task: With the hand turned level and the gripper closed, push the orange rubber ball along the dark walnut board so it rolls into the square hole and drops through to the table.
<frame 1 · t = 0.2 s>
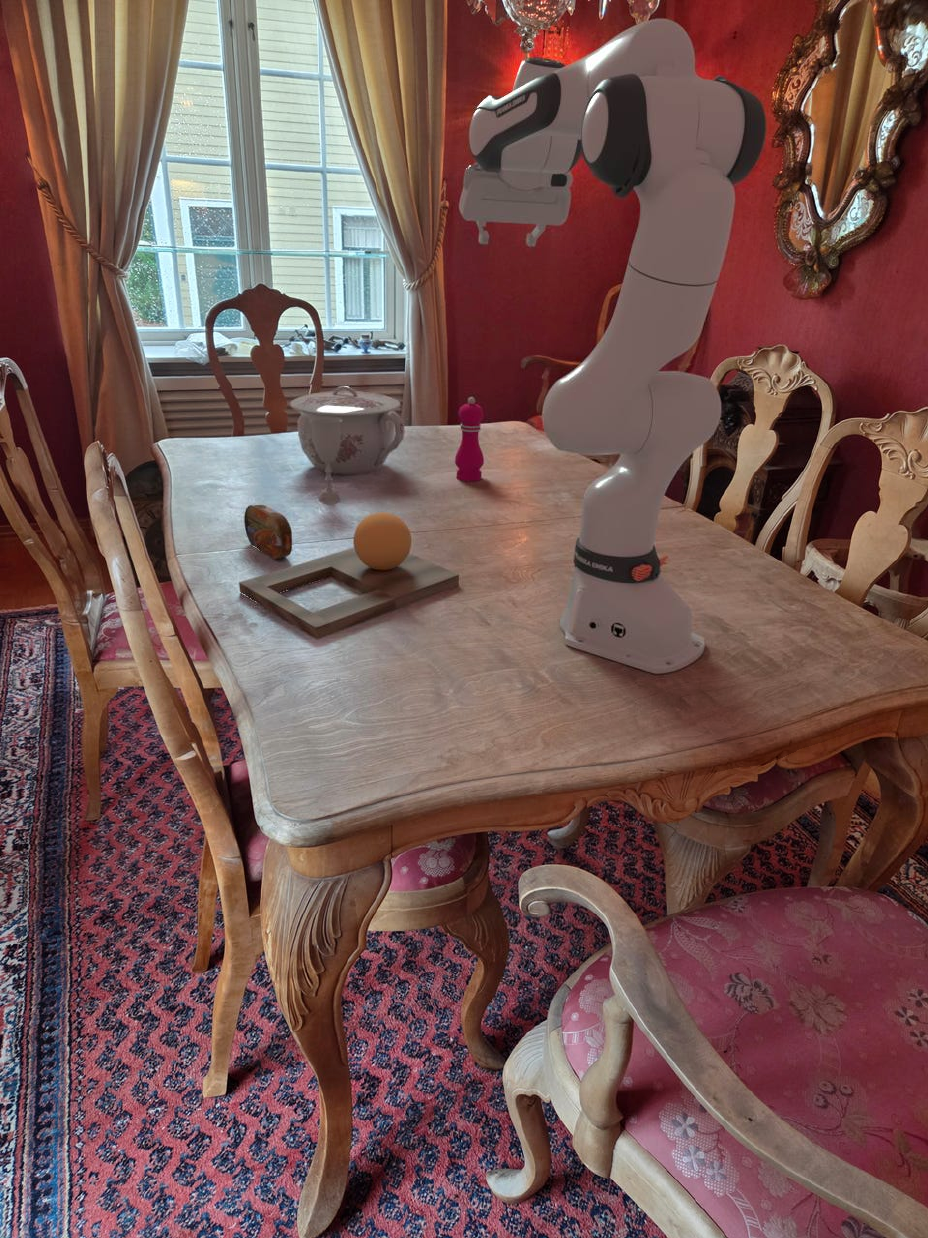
hand: (506, 243, 144), 54 cm above the table, tool tilted 30°, fingers open, 8 cm apart
chalice: (329, 500, 174), on the table
chamber pot: (348, 469, 197), on the table
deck: (356, 587, 132), on the table
ball: (382, 541, 133), point 7 cm above the table, touching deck
pepper mill: (468, 478, 193), on the table
tin: (270, 552, 146), on the table
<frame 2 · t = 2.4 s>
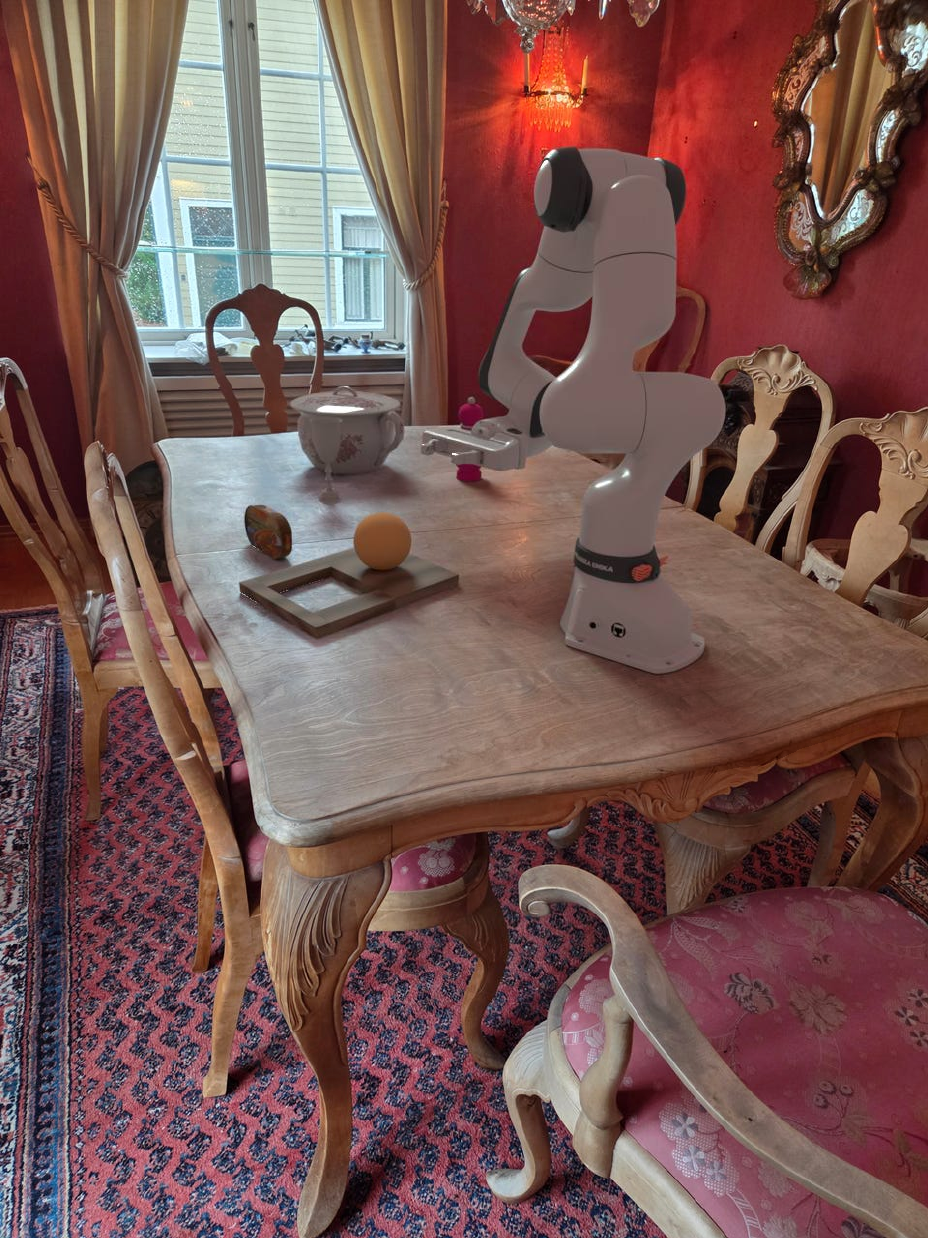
hand: (438, 454, 135), 20 cm above the table, tool horizontal, fingers open, 6 cm apart
nothing on the table moved.
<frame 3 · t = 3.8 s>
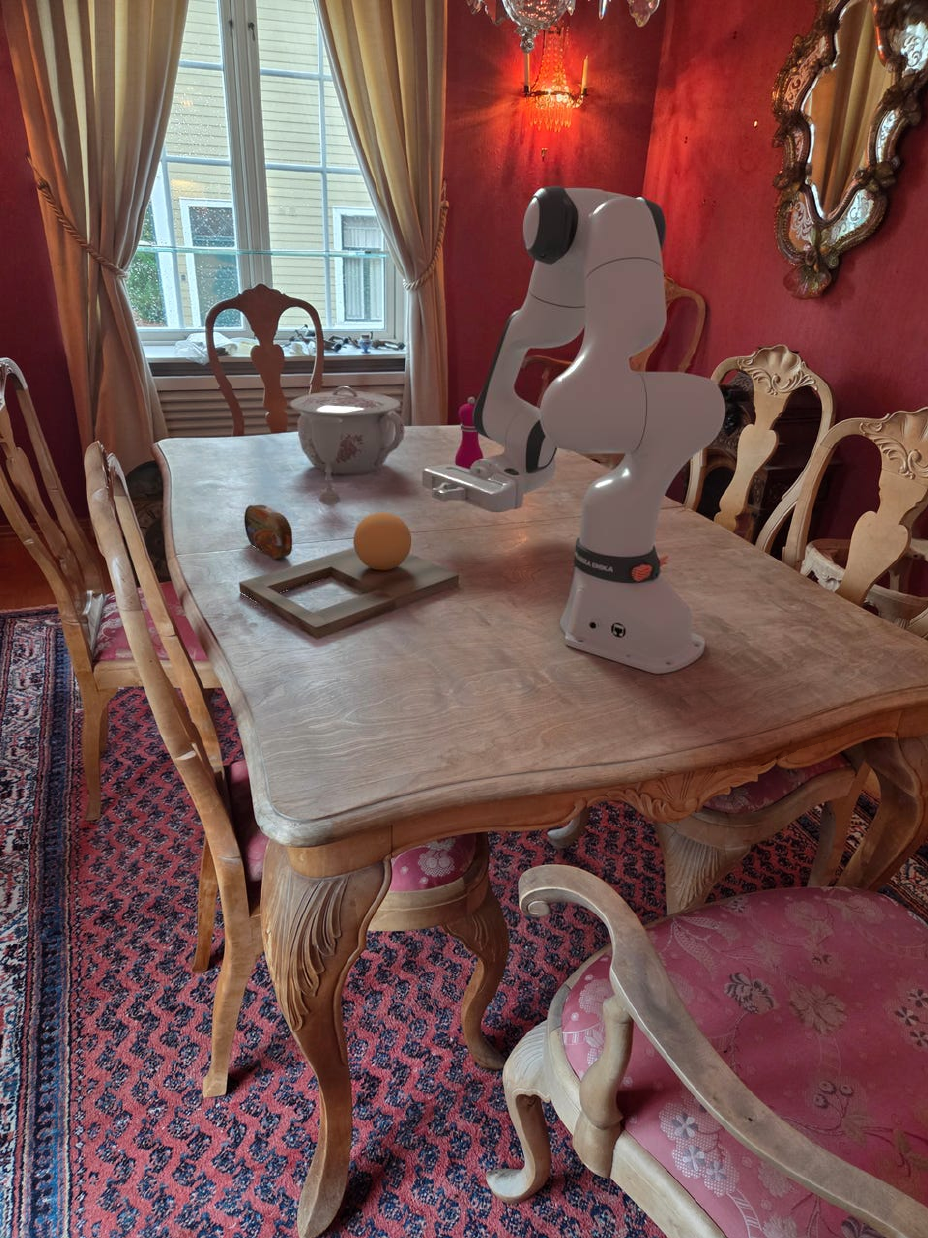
hand: (437, 495, 139), 12 cm above the table, tool horizontal, fingers closed
nothing on the table moved.
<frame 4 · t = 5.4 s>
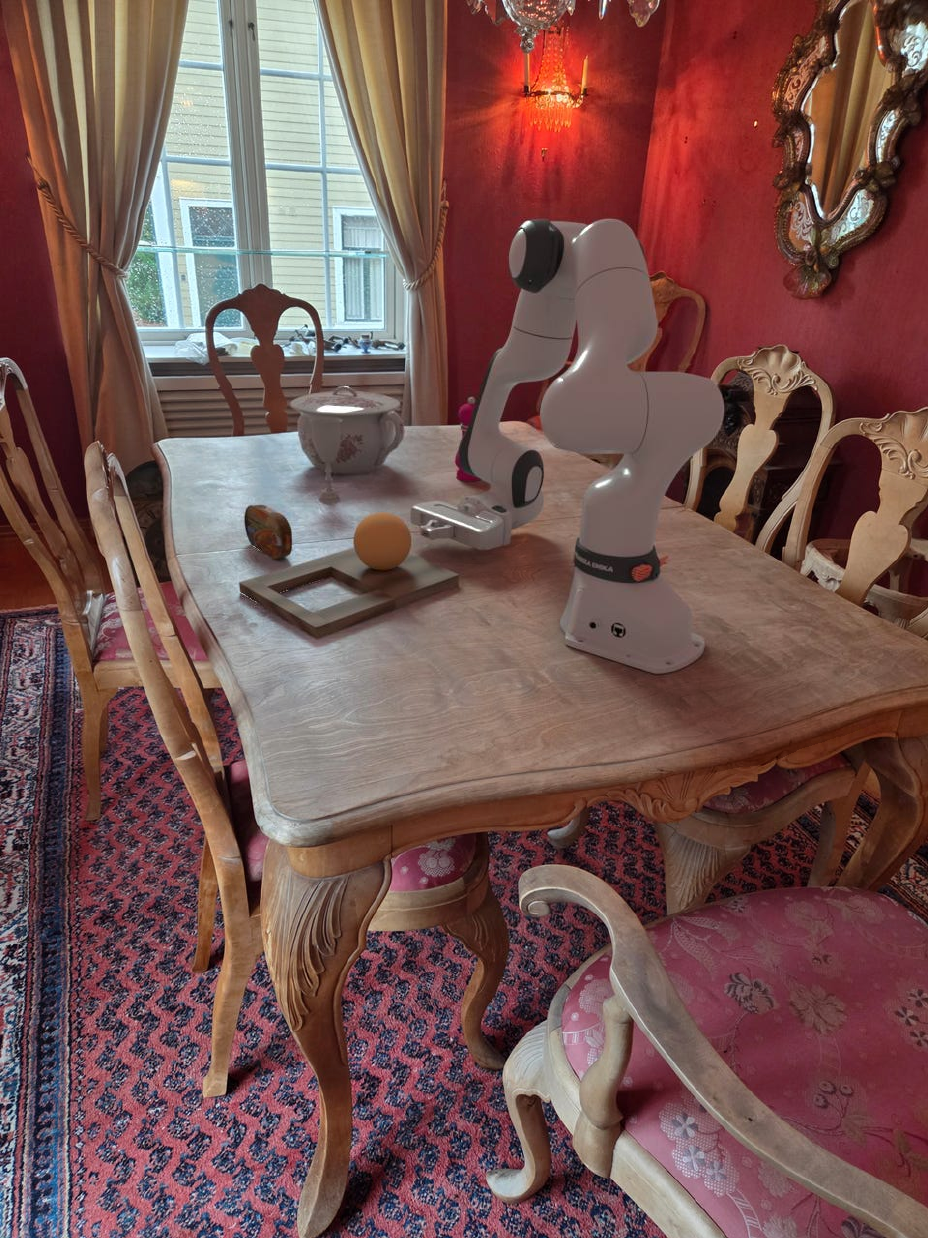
hand: (425, 533, 139), 6 cm above the table, tool horizontal, fingers closed
nothing on the table moved.
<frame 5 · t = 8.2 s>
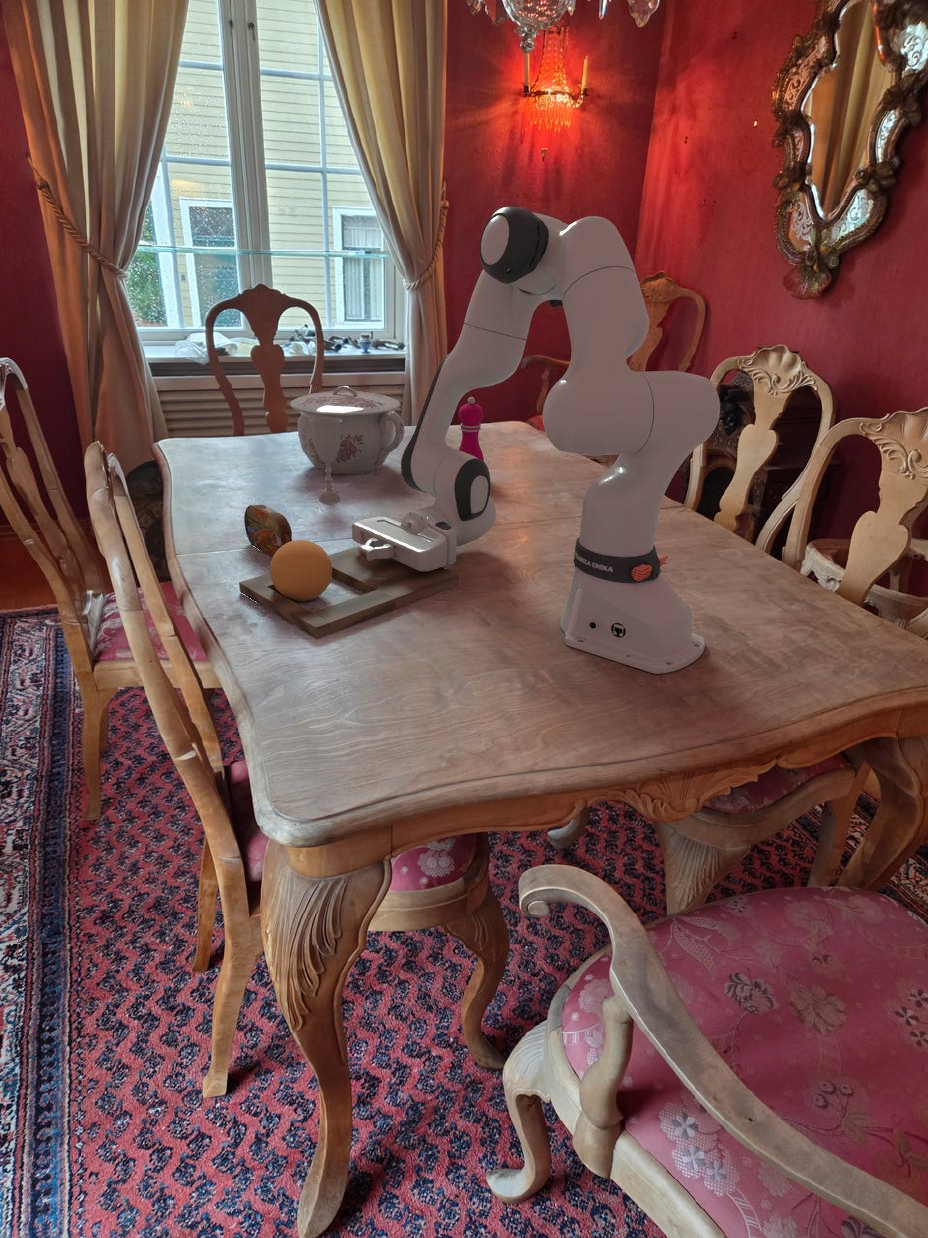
hand: (363, 554, 131), 6 cm above the table, tool horizontal, fingers closed
ball: (301, 570, 125), point 5 cm above the table, tilted 177°
everything else where it was.
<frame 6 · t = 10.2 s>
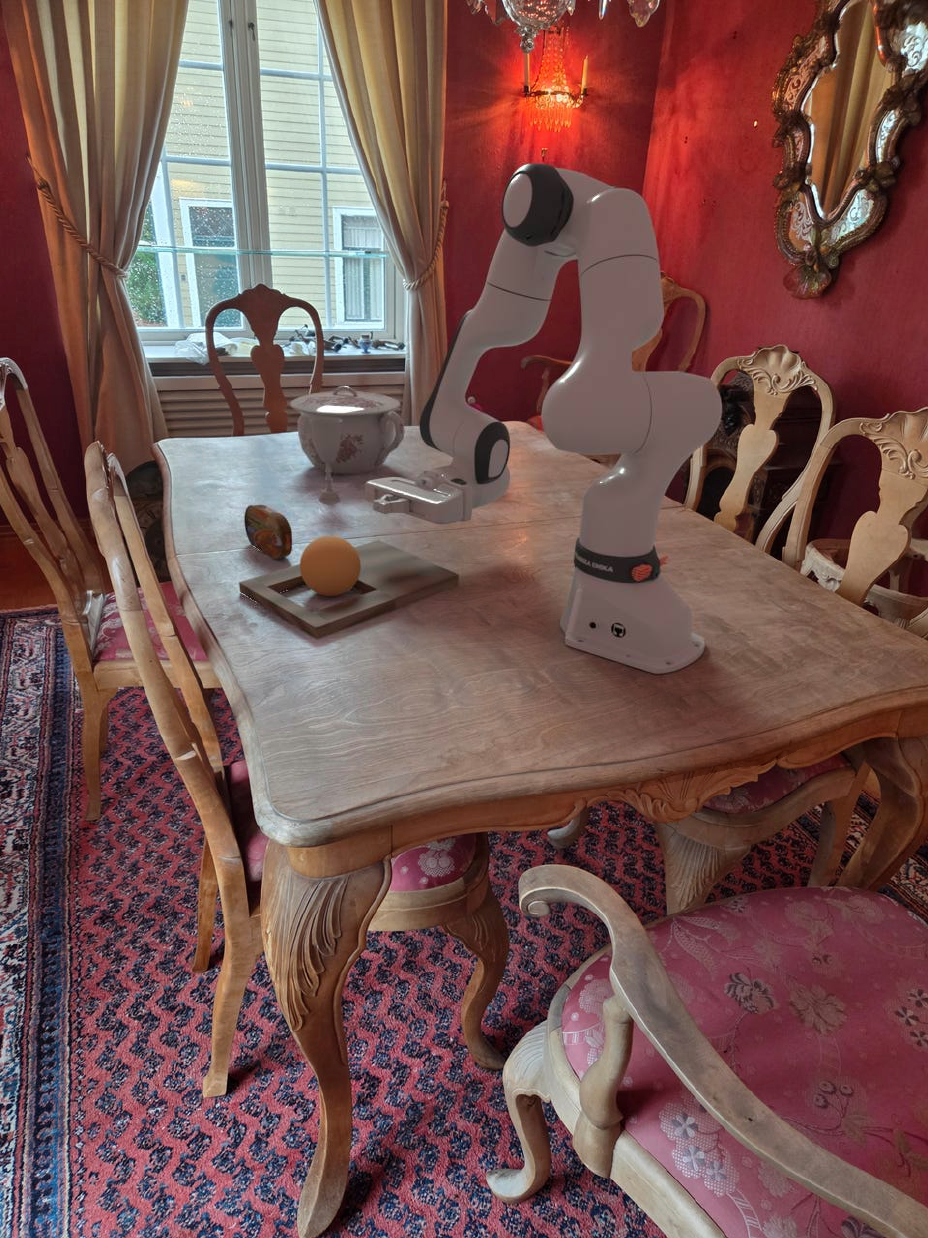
hand: (378, 507, 128), 14 cm above the table, tool horizontal, fingers closed
ball: (330, 566, 127), point 5 cm above the table, tilted 126°
everything else where it was.
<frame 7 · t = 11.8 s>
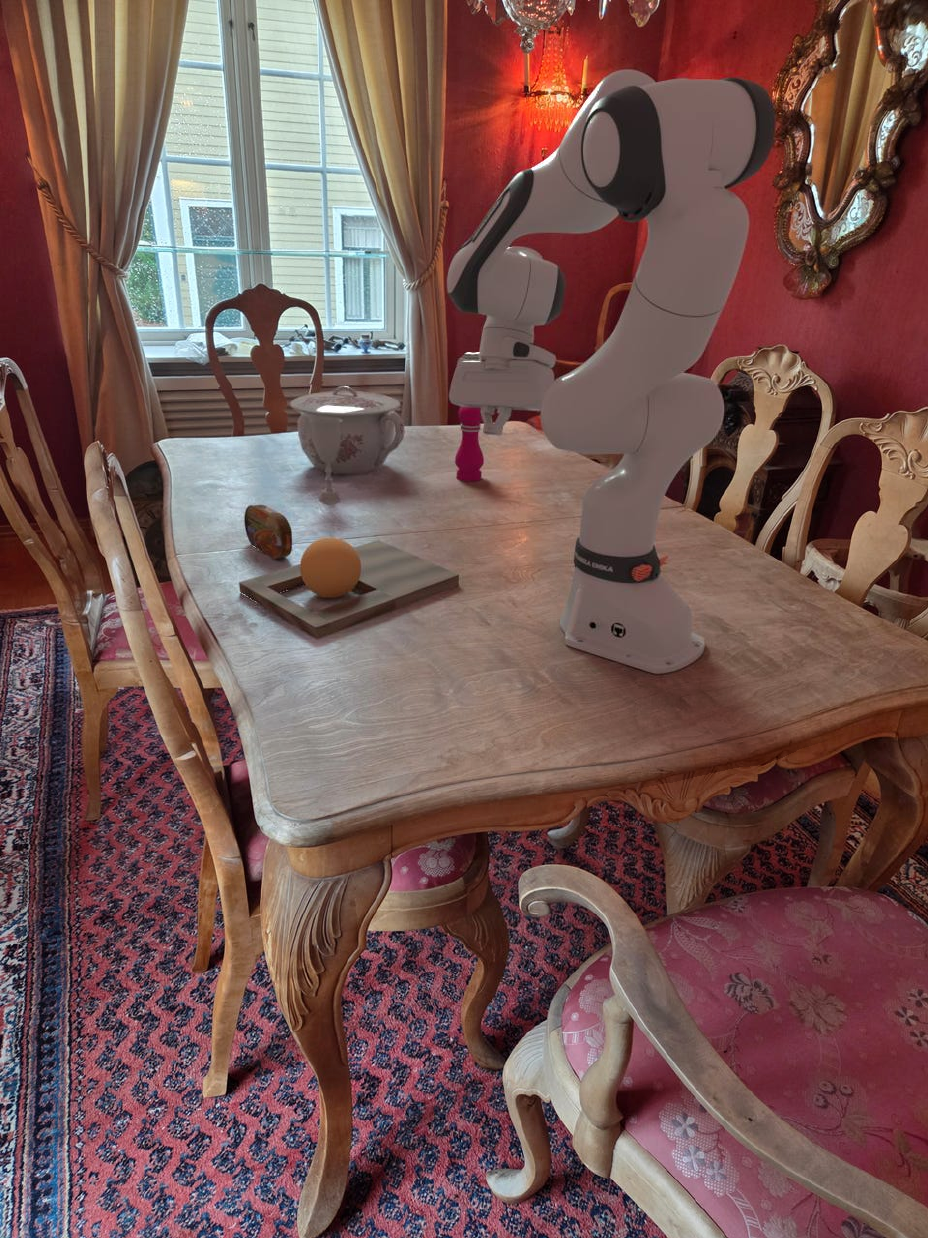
hand: (492, 434, 132), 24 cm above the table, tool tilted 20°, fingers closed
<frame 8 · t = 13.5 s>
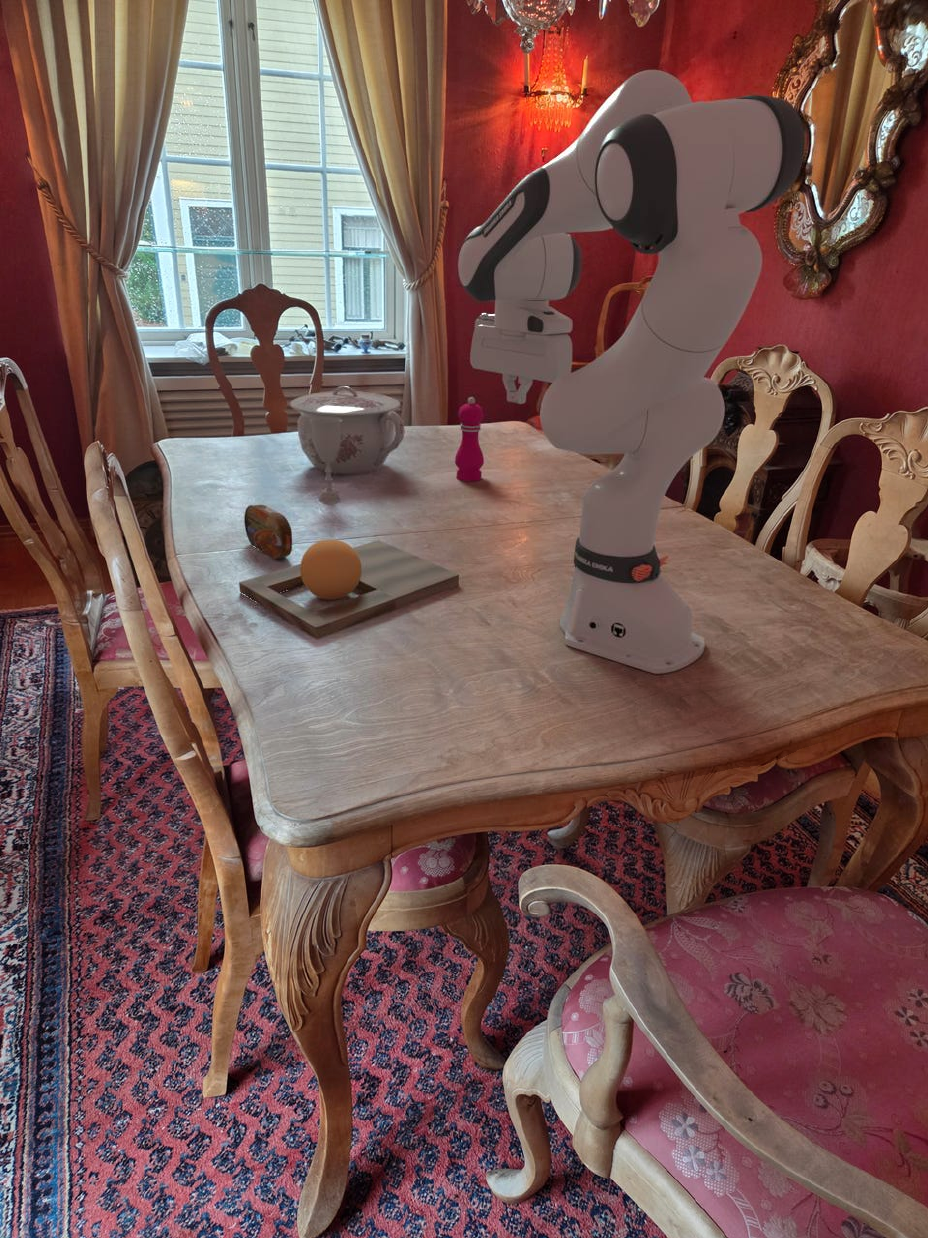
hand: (516, 402, 133), 29 cm above the table, tool pointing down, fingers closed
at the end: ball inside the target area on the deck (2.0 cm from its centre), point 5.0 cm above the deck's base; ball moved 11.5 cm from its start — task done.
